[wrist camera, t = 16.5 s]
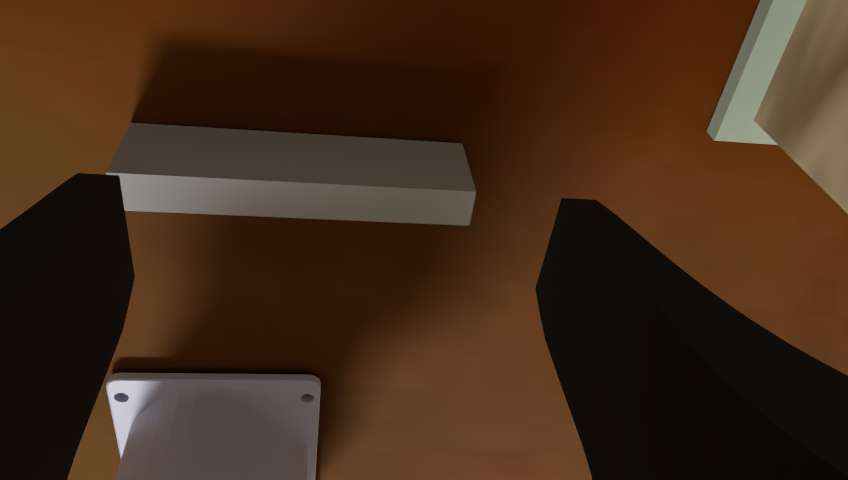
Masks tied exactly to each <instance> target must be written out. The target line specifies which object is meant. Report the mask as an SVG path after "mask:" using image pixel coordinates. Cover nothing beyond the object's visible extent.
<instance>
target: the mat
mask: <svg viewBox="0 0 848 480" xmlns="http://www.w3.org/2000/svg"><path fill="white" fill-rule="evenodd" d="M806 1H807V0H760V2H759V4H758V7H757V9H756V12H755V14H754V17H753V19H752V22H751V24H750V26H749V29H748V31H747V34H746V36H745V39H744V41H743V44H742V46H741V48H740V51H739V53H738V56H737V58H736V61H735V63H734V66H733V68H732V71H731V73H730V75H729V78H728V80H727V83H726V85H725V88H724V90H723V93H722V95H721V97H720V100H719V102H718V105H717V107H716V110H715V112H714V115H713V117H712V119H711V122H710V124H709V127H708V129H707V133H708V134H709V135H710V136H711V137H712V138H713V139H714V141H729V142H744V143H759V144H774V145H778V144H777V143H776V142H775V141H774V140H773V139H772V138H771V137H770V136H769V135H768V134H767V133H766V132H765V131H764V130H763V129H762V128H761V127H760V126H759V125H758V124H757V123H756V122H755V121H754V118H755V116H756V113H757V111H758V109H759V107H760V104H761V102H762V100H763V98H764V95H765V93H766V91H767V89H768V86H769V84H770V82H771V80H772V77H773V75H774V73H775V71H776V68H777V66H778V64H779V62H780V59H781V57H782V55H783V53H784V50H785V48H786V46H787V44H788V41H789V39H790V37H791V35H792V32H793V30H794V28H795V26H796V23H797V21H798V19H799V17H800V14H801V12H802V10H803V8H804V5H805V3H806Z"/></svg>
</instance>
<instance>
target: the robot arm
mask: <svg viewBox="0 0 848 480" xmlns="http://www.w3.org/2000/svg"><path fill="white" fill-rule="evenodd" d="M134 277H135V276H134V270H133V263H132V256H131V250H130V243H129V237H128V230H127V223H126V217H125V210H124V204H123V197H122V190H121V184H120V177H119V175H101V174H82V173H78V174H76V175H74V176H73V177H71V178H70V179H68V180H67V181H66V182H64V183H63V184H61V185H60V186H59V187H57V188H56V189H55V190H53V191H52V192H51V193H49V194H48V195H47V196H45V197H44V198H43V199H41V200H40V201H39V202H37V203H36V204H35V205H33V206H32V207H31V208H29V209H28V210H27V211H25V212H24V213H22V214H21V215H20V216H18V217H17V218H16V219H14V220H13V221H11V222H10V223H9V224H7V225H6V226H4V227H3V228H2V229H0V480H67V478H68V475H69V472H70V469H71V466H72V463H73V460H74V457H75V454H76V451H77V448H78V445H79V443H80V440H81V438H82V435H83V433H84V430H85V427H86V425H87V422H88V420H89V417H90V414H91V412H92V409H93V407H94V404H95V402H96V399H97V396H98V394H99V391H100V389H101V386H102V384H103V381H104V378H105V376H106V373H107V371H108V368H109V365H110V363H111V360H112V357H113V355H114V352H115V349H116V347H117V344H118V341H119V339H120V336H121V333H122V331H123V326H124V322H125V318H126V314H127V310H128V305H129V301H130V296H131V291H132V287H133V282H134ZM536 295H537V300H538V306H539V311H540V317H541V321H542V326H543V331H544V336H545V340H546V343H547V346H548V349H549V352H550V355H551V357H552V360H553V363H554V366H555V369H556V372H557V375H558V378H559V381H560V383H561V386H562V389H563V392H564V395H565V397H566V400H567V403H568V406H569V409H570V411H571V414H572V417H573V420H574V423H575V425H576V428H577V431H578V434H579V437H580V440H581V442H582V445H583V448H584V452H585V455H586V458H587V461H588V465H589V468H590V471H591V475H592V480H848V376H847V375H845V374H843V373H841V372H840V371H838V370H836V369H834V368H832V367H830V366H828V365H826V364H824V363H823V362H821V361H819V360H817V359H815V358H813V357H811V356H810V355H808V354H806V353H804V352H803V351H801V350H799V349H797V348H796V347H794V346H792V345H790V344H789V343H787V342H785V341H784V340H782V339H781V338H779V337H778V336H776V335H774V334H773V333H771V332H770V331H768V330H766V329H765V328H763V327H762V326H760V325H758V324H757V323H755V322H754V321H752V320H750V319H749V318H747V317H746V316H745V315H743V314H742V313H740V312H739V311H737V310H736V309H734V308H733V307H731V306H730V305H729V304H727V303H726V302H725V301H723V300H722V299H720V298H719V297H718V296H716V295H715V294H714V293H712V292H711V291H709V290H708V289H707V288H705V287H704V286H703V285H701V284H700V283H699V282H697V281H696V280H695V279H694V278H692V277H691V276H690V275H688V274H687V273H686V272H685V271H683V270H682V269H681V268H680V267H678V266H677V265H676V264H675V263H673V262H672V261H671V260H670V259H668V258H667V257H666V256H665V255H663V254H662V253H661V252H660V251H659V250H657V249H656V248H655V247H654V246H653V245H651V244H650V243H649V242H648V241H647V240H645V239H644V238H643V237H642V236H641V235H639V234H638V233H637V232H636V231H635V230H633V229H632V228H631V227H630V226H629V225H627V224H626V223H625V222H624V221H623V220H621V219H620V218H619V217H618V216H617V215H615V214H614V213H613V212H611V211H610V210H609V209H608V208H606V207H605V206H604V205H602V204H601V203H599V202H598V201H596V200H587V199H568V198H562V199H561V203H560V206H559V210H558V213H557V216H556V220H555V223H554V227H553V230H552V234H551V237H550V241H549V244H548V247H547V251H546V254H545V258H544V261H543V265H542V268H541V272H540V275H539V278H538V282H537V285H536ZM106 390H107V395H108V399H109V404H110V409H111V414H112V419H113V423H114V428H115V433H116V438H117V443H118V447H119V452H120V457H121V462H120V465H119V469H118V472H117V476H116V480H315V478H316V461H317V444H318V427H319V410H320V393H321V382H320V379H319V378H318V377H316V376H314V375H309V374H210V373H115V374H113V375H111V376H110V377H109V378H108V381H107V384H106ZM121 393H124V394H121ZM304 394H311V395H304Z"/></svg>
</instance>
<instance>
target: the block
mask: <svg viewBox="0 0 848 480" xmlns="http://www.w3.org/2000/svg"><path fill="white" fill-rule="evenodd" d="M754 121H755V122H756V123H757V124H758V125H759V126H760V127H761V128H762V129H763V130H764V131H765V132H766V133H767V134H768V135H769V136H770V137H771V138H772V139H773V140H774V141H775V142H776V143H777V144H778V145H779V146H780V147H781V148H782V149H783V150H784V151H785V152H786V153H787V154H788V155H789V156H790V157H791V158H792V159H793V160H794V161H795V162H796V163H797V164H798V165H799V166H800V167H801V168H802V169H803V170H804V171H805V172H806V173H807V174H808V175H809V176H810V177H811V178H812V179H813V180H814V181H815V182H816V183H817V184H818V185H819V186H820V187H821V188H822V189H823V190H824V191H825V192H826V193H827V194H828V195H829V196H830V197H831V198H832V199H833V200H834V201H835V202H836V203H837V204H838V205H839V206H840V207H841V208H842V209H843V210H844V211H845V212H846V213H847V214H848V0H807V1H806V3H805V5H804V8H803V10H802V12H801V14H800V17H799V19H798V21H797V23H796V26H795V28H794V30H793V32H792V35H791V37H790V39H789V41H788V44H787V46H786V48H785V50H784V53H783V55H782V57H781V59H780V62H779V64H778V66H777V68H776V71H775V73H774V75H773V77H772V80H771V82H770V84H769V86H768V89H767V91H766V93H765V95H764V98H763V100H762V102H761V104H760V107H759V109H758V111H757V113H756V116H755V118H754Z"/></svg>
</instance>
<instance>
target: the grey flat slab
mask: <svg viewBox="0 0 848 480" xmlns="http://www.w3.org/2000/svg"><path fill="white" fill-rule="evenodd" d="M106 175H119V177H120V184H121V190H122V197H123V204H124V210H125V211H146V212H169V213H192V214H214V215H237V216H260V217H282V218H305V219H328V220H351V221H373V222H396V223H419V224H441V225H464V226H469V225H470V220H471V215H472V211H473V206H474V201H475V196H476V189H475V186H474V182H473V179H472V175H471V172H470V168H469V165H468V162H467V158H466V155H465V151H464V148H463V145H462V143H449V142H433V141H417V140H401V139H385V138H369V137H353V136H337V135H321V134H305V133H289V132H273V131H257V130H241V129H226V128H210V127H194V126H178V125H162V124H146V123H130V124H129V126H128V128H127V130H126V132H125V135H124V137H123V139H122V141H121V143H120V145H119V147H118V149H117V151H116V153H115V155H114V157H113V159H112V161H111V163H110V165H109V167H108V170H107V172H106Z"/></svg>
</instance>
